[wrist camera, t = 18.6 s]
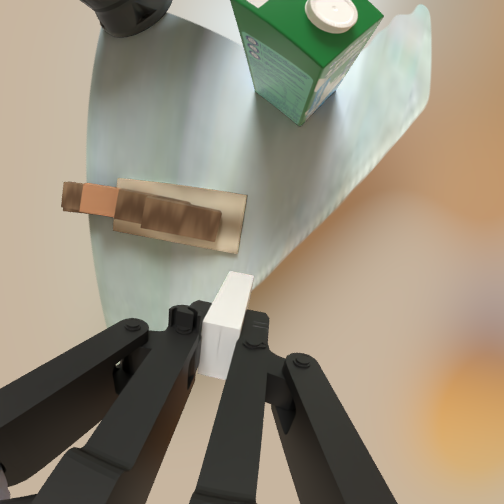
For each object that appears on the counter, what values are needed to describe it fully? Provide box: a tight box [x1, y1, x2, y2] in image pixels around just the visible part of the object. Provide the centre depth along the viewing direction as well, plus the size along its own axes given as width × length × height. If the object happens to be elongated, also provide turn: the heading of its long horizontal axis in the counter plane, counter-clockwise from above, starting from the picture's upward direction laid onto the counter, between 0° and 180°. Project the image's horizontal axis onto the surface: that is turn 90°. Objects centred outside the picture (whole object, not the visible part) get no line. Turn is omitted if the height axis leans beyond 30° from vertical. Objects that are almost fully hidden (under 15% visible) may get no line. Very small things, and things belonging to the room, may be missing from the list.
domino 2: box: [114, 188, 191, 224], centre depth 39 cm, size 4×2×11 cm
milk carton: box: [230, 0, 384, 126], centre depth 25 cm, size 9×9×25 cm
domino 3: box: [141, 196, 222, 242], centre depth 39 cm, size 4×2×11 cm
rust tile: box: [79, 183, 150, 217], centre depth 39 cm, size 4×2×11 cm
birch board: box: [113, 178, 247, 254], centre depth 43 cm, size 9×22×1 cm, turn 81°
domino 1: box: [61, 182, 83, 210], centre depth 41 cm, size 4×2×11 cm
